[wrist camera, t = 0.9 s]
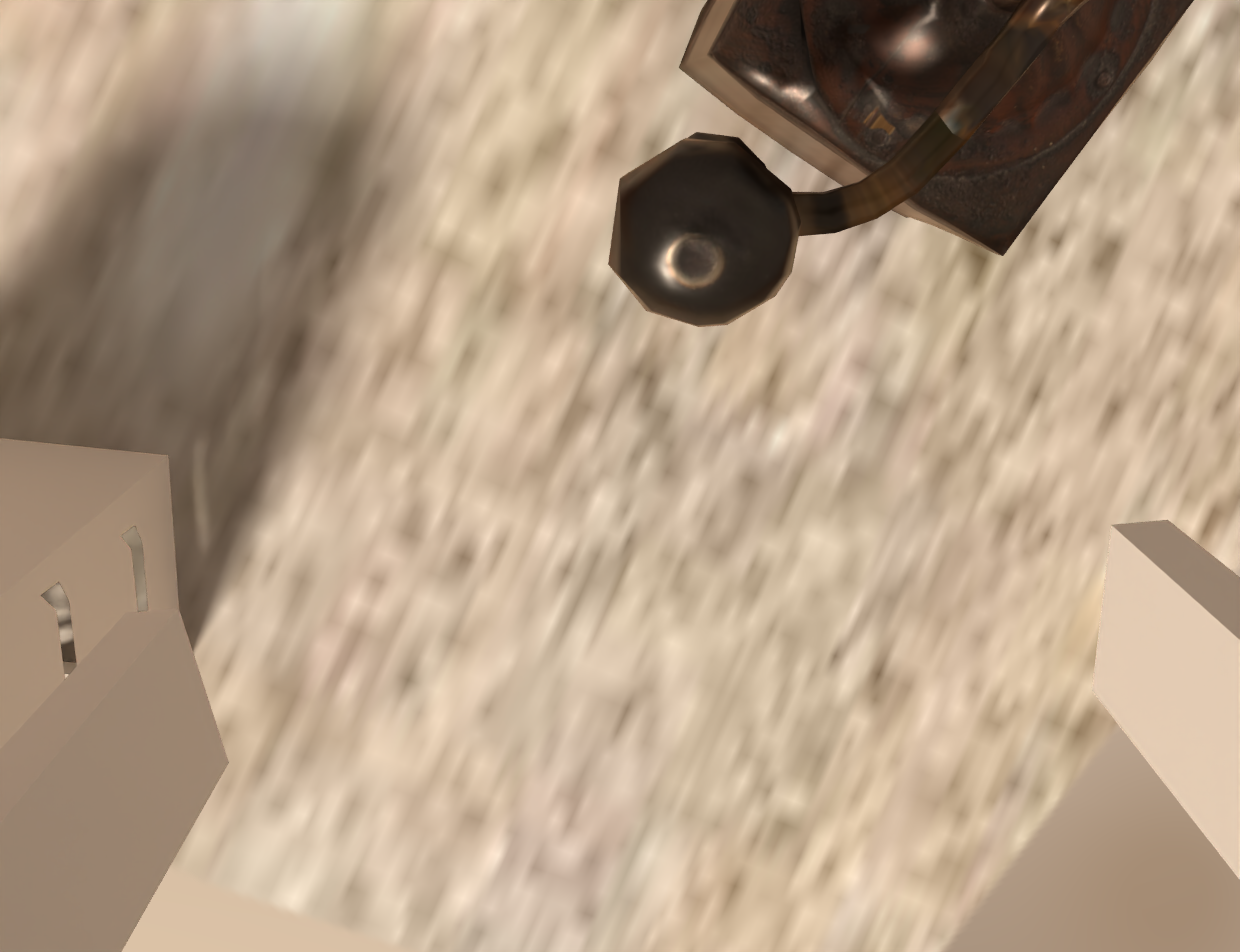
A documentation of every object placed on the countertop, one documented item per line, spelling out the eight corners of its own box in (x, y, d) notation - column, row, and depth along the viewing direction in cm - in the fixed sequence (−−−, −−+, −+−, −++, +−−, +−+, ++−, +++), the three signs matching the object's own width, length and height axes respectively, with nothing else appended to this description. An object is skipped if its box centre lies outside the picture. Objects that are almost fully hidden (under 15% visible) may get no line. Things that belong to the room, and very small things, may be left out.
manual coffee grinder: (832, -255, 29) (1129, -702, 13) (1096, -47, 32) (1638, -196, 15) (582, 186, 34) (561, 277, 18) (826, 338, 37) (1010, 546, 20)
